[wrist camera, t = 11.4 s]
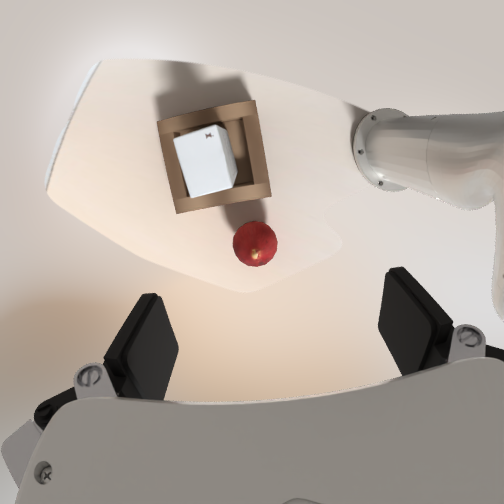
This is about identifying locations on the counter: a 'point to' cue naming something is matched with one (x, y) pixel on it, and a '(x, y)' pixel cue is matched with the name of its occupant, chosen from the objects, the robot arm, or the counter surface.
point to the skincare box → (206, 160)
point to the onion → (255, 243)
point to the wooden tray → (244, 149)
